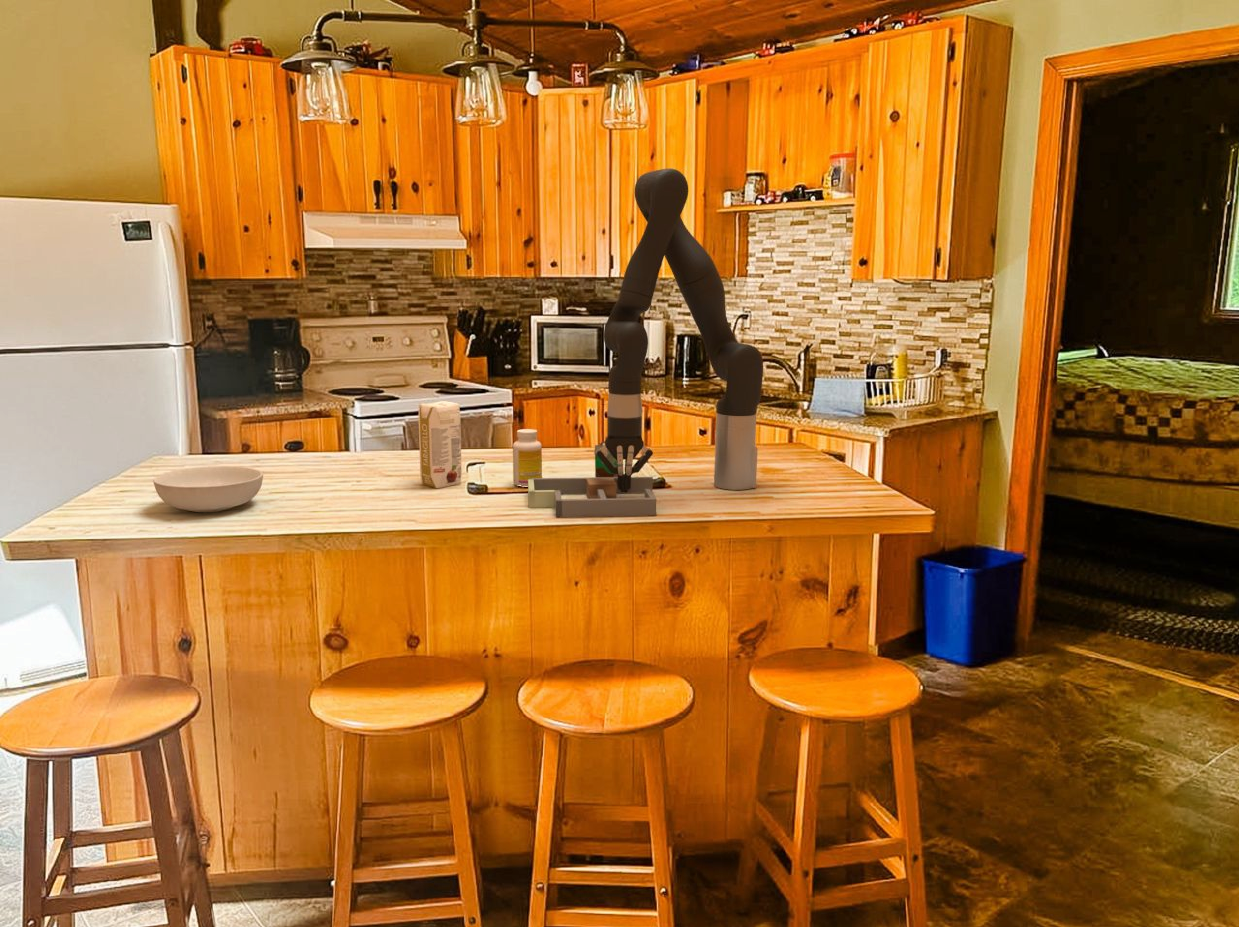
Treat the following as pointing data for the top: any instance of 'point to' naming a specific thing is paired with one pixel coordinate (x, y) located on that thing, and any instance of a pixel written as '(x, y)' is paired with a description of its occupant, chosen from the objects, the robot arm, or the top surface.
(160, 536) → the top surface
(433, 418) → the juice carton
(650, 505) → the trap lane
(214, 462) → the top surface
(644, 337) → the robot arm
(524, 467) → the supplement bottle
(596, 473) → the food container
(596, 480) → the walnut block
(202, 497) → the serving bowl
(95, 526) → the top surface
